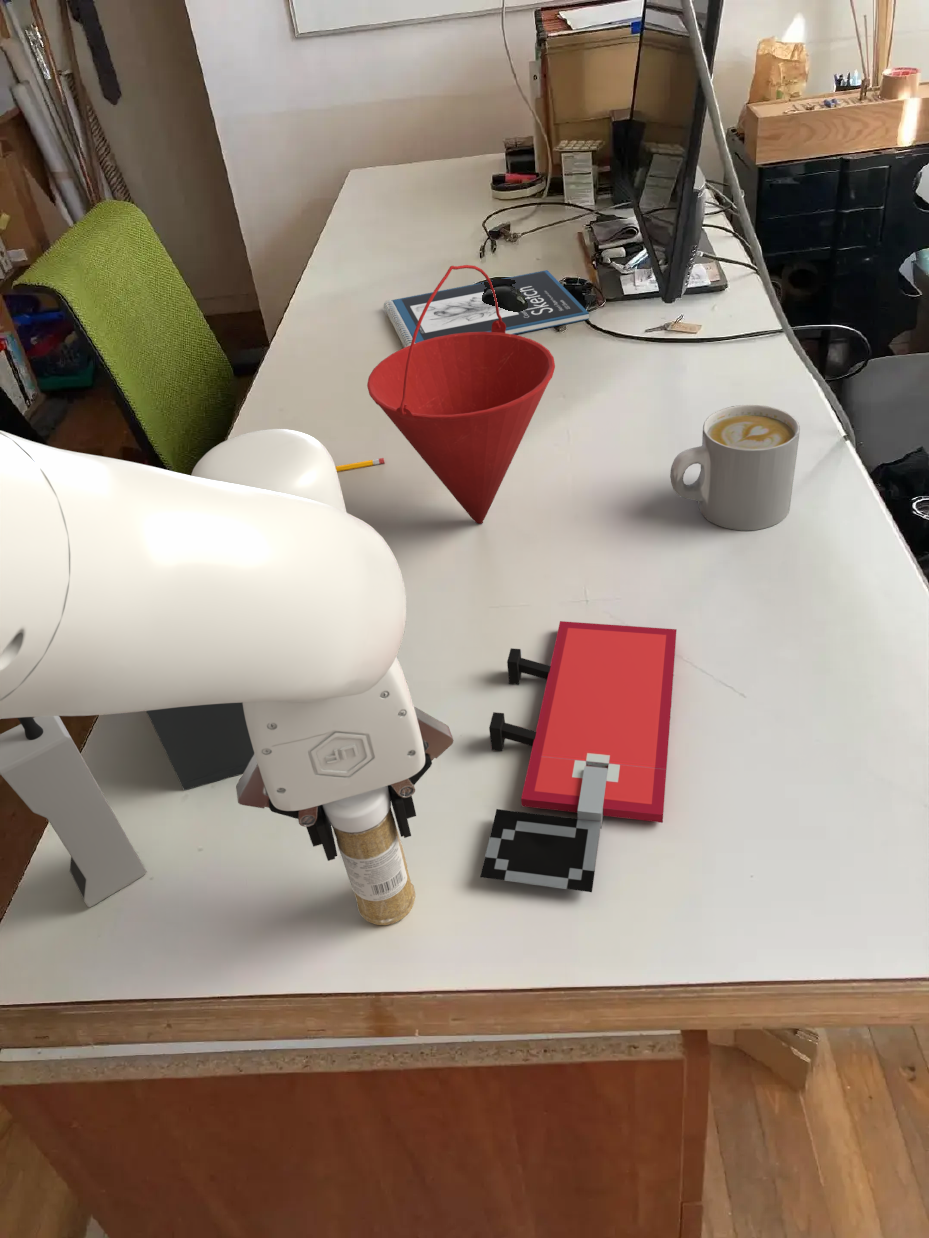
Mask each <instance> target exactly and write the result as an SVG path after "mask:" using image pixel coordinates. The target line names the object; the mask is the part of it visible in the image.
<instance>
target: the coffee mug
mask: <svg viewBox="0 0 929 1238" xmlns="http://www.w3.org/2000/svg"><path fill="white" fill-rule="evenodd" d="M800 433H801V426H800V424H799V422H798V419H796V418H795V416H793V415H792V414H791V413H789V412H787V411H785V410H782V409H780V408H777V407H774V406H770V405H769V406H768V405H764V404H763V405H762V404H739V405H732V406H729V407H728V406H727V407H723V408H722V409H719V410H716V411H714V412H713V413H712V414H710V415H709V416H708V417H707V418H706V419H705V420H704V422H703V426H702V435H701V436H702V437H701V439H702V441H701V445H699V446H695V447H690V448H688V449H684V450H683V451H680V452H679V453H678V454H677V455H676V456H675V457H674V459H673V461H672V464H671V466H670V471H669V472H670V473H669V474H670V475H669V479H670V484H671V486H672V489H673V491H674V492H675V493H676V495H677V496H679V497H681V498H683V499H687V500H692V501H697V502H698V509H699V511H700V513H701V515H702V516H703V517H704V518H705V519H706V520H708V521H709V522H711V523H712V524H714V525H716V526H719V527H722V528H725V529H729V530H733V531H734V530H736V531H758V530H764V529H768V528H771V527H773V526H775V525H776V526H777V524H779V523H781V522H783V520H785V518H787V516H788V515H789V512H790V509H791V502H792V494H793V486H794V480H795V479H794V478H795V472H796V466H797V465H796V463H797V456H798V449H799V442H800V441H799V440H800ZM695 464H698V465H700V472H699V474H698V477H697V478H696V480H695V481H693V482H692V483H690V484H687V483H685V482H684V475H685V474H686V470H687V469H688V468H689V467H691V466H692V465H695Z"/></svg>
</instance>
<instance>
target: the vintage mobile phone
mask: <svg viewBox="0 0 929 1238" xmlns="http://www.w3.org/2000/svg"><path fill="white" fill-rule="evenodd" d="M17 720H18V721H19V724H18V725H17V726H14V727H12V728H11V729H8V730H6V731H4V732H2V733H0V776H1V777H2V778H3V779H4V781H5V782H7V784H8V785H9V786H10V787H11V789H12V790H13V791H14V793H16V795H18V797H19V798H20V799H21V800H22V801H23V802H24V804H25V805H26V806H27V807H28V809H30V811H31V812H32V813H33V814H36V815H38V816H41V817H43V818H46V820H47V821H48V822H49V824H50V826H51V827H52V829H53V831H54V832H55V833H56V835H57V836H58V839H60V841H61V843H62V845H63V846H64V847H65V849H66V851H67V852H68V854H69V855H70V860H69V861H70V862H69V874H70V875H71V877H72V880H73V881H74V884H75V886H76V888H77V890H78V892H79V895H80V896H81V898H82V900H83V902H84V903H85V905H86V907H87V908H91V907H94V906H96V905H97V904H99V903H100V902H102V901H104V900H106V899H107V898H109V897H111V896H112V895H114V894H116V893H117V892H119V891H121V890H122V889H124V888H126V887H127V886H129V885H130V884H133V883H134V882H135V881H137V880H139V879H140V878H142V877H144V876H145V875H146V874H147V873H148V872H147V870H146V868H145V866H144V864H143V862H142V861H141V859H140V857H139V856H138V853H137V852H136V850H135V848H134V847H133V845H132V843H131V841H130V839H129V837H128V836H127V833H126V832H125V831H124V829H123V827H122V825H121V824H120V821H119V820H118V818H117V816H116V814H115V813H114V811H113V809H112V807H111V806H110V804H109V803H108V800H107V798H106V796H105V795H104V793H103V791H102V790H101V788H100V786H99V785H98V782H97V781H96V779H95V778H94V776H93V774H92V772H91V770H90V768H89V767H88V765H87V763H86V761H85V759H84V758H83V756H82V754H81V752H80V751H79V749H78V747H77V745H76V744H75V741H74V740H73V738H72V736H71V735H70V733H69V731H68V730H67V728H66V725H65V724H64V722H63V720H62V719H61V716H37V717H19V718H17Z"/></svg>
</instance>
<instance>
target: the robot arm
mask: <svg viewBox="0 0 929 1238" xmlns="http://www.w3.org/2000/svg"><path fill="white" fill-rule="evenodd" d="M335 466H336V465H335V461H334V459H333V456H332V455H331V453H330V452H329V451H328V449H327V448H326V446H325V445H323V443H322V442H320V441H319V440H318V439H317V438H315V437H313V436H312V435H309V434H307V433H304V432H301V431H298V430H293V429H287V428H269V429H260V430H254V431H249V432H245V433H242V434H238V435H236V436H234V437H231V438H229V439H226V440H224V441H222V442H220V443H219V444H217V445H216V446H214V447H212V448H211V449H210V450H208V451H207V452H206V453H205V454H204V455H203V456H202V457H201V458H200V459H199V460H198V461H197V463H196V464H195V466H194V467H193V469H192V472H191V475H190V474H185V473H182V472H176V471H173V470H168V469H164V468H161V467H156V466H153V465H148V464H143V463H139V462H134V461H129V460H124V459H118V458H114V457H108V456H102V455H96V454H90V453H83V452H79V451H78V452H77V451H72V450H67V449H62V448H57V447H54V446H50V445H47V444H43V443H40V442H36V441H34V440H33V441H32V440H30V439H26V438H23V437H20V436H18V435H15V434H12V433H10V432H6V431H4V430H0V720H1V719H3V720H4V719H18V718H19V717H33V718H34V717H37V716H59V717H86V716H103V715H104V716H105V715H116V714H126V713H127V714H129V713H138V712H147V711H148V710H158V709H167V708H176V707H186V706H197V705H208V704H223V703H243V710H244V715H245V720H246V724H247V728H248V732H249V736H250V739H251V743H252V746H253V750H254V755H253V757H252V758H251V760H250V762H249V764H248V766H247V767H246V769H245V771H244V773H243V774H241V776H240V778H239V779H238V782H237V784H236V786H235V789H236V797H237V803H238V804H239V805H242V806H246V807H253V808H259V809H265V808H269V810H270V811H271V812H272V813H274V814H279V815H282V816H286V817H289V818H293V819H297V821H298V824H299V825H300V826H301V827H304V828H306V830H307V833H308V836H309V839H310V842H311V844H312V847H318V846H321V845H322V848H323V851H324V854H325V857H326V860H327V862H330V861H333V860H335V859H336V858H337V857H338V852H337V847H336V841H335V838H334V837H335V836H334V831H333V828H332V826H331V824H330V823H329V822H328V820H327V818H326V815H325V812H324V809H323V806H322V805H323V804H326V803H330V802H333V801H337V800H340V799H344V798H347V797H351V796H354V795H358V794H361V793H364V792H368V791H371V790H374V789H378V788H381V787H384V786H387V785H388V788H389V793H390V797H391V807H392V810H393V815H394V818H395V820H396V821H395V822H396V825H397V829H398V832H399V834H400V835H399V836H400V837H401V838H404V839H406V838H409V837H412V833H411V829H410V824H409V820H408V819H411V818H415V817H417V812H416V807H415V804H414V799H413V795H414V794H415V792H416V787H415V785H416V784H417V783H418V781H420V779H421V778H422V777H423V776H424V775H425V774H426V773H427V771H429V769H430V768H431V766H432V765H433V762H432V761H433V760H435V759H438V758H439V757H440V756H441V755H442V754H444V753H445V751H447V750H448V749H449V748H450V747H451V746H452V745H453V744H454V742H455V741H454V738H453V735H452V732H451V730H450V727H449V725H448V724H446V723H444V722H442V721H441V720H439V719H437V718H435V717H434V716H432V715H430V714H428V713H427V712H425V711H423V710H421V709H419V708H418V707H417V706H415V705H414V702H413V699H412V696H411V692H410V689H409V685H408V682H407V679H406V676H405V673H404V671H403V668H402V666H401V663H400V660H399V659H398V657H397V656H398V654H399V651H400V649H401V645H402V643H403V639H404V635H405V630H406V623H407V593H406V588H405V587H406V586H405V582H404V577H403V575H402V571H401V568H400V565H399V563H398V560H397V559H396V557H395V554H394V553H393V550H392V549H391V547H390V546H389V544H388V543H387V541H386V540H385V539H384V537H383V536H382V535H381V534H380V533H379V532H378V531H377V530H376V529H375V528H374V527H373V526H371V525H370V524H369V523H367V522H366V521H364V520H362V519H361V518H358V517H357V516H354V515H352V514H350V513H349V512H347V509H346V508H347V507H346V504H345V500H344V496H343V495H344V494H343V492H342V487H341V482H340V479H339V475H338V472H337V471H336V468H335Z"/></svg>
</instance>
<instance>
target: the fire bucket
mask: <svg viewBox="0 0 929 1238" xmlns="http://www.w3.org/2000/svg"><path fill="white" fill-rule="evenodd" d="M464 269H470V270H475V271H478V272H479V273H481V275H483V277H484V278H485V279H486V282H488V283H489V285H490V288H491V291H492V293H493V297H494V301H495V307H496V314H497V317H498V318H499V320H497V321H494V322H493V324H492V330H491V332H467V333H458V334H450V335H445V336H440V337H435V338H431V339H428V340H424V341H421V342H418V343H415V339H416V336H417V333H418V330H419V327H420V325H421V322H422V319H423V317H424V315H425V313H426V311H427V309H428V307H429V305H430V303H431V301H432V300H433V298H434V296H435V295H436V293H437V291H440V288H441V287H442V286H443V284H444V283H445V281H446V280H447V279H448V277H449V276H450V274H451V272H452V271H453V270H454V271H455V270H464ZM491 281H492V280H491V278H490V277H489V275H488V274H487V273H486V272H485V271H484V270H483V269H482V268H480V267H478V266H476V265H473V264H472V265H471V264H464V265H451V266H449V267H448V269H447V271H446V273H445V274H444V275H443V277H442V278H441V280H440V281H439V282H438V284H437V286H436V287H435V289H434V290H433V291H432V292H433V293H432V295H431V297H430V298H429V300H428V302H427V303H426V306H425V308H424V310H423V312H422V314H421V316H420V318H419V321H418V324H417V326H416V329H415V332H414V335H413V338H412V342H411V345H410V346H407V345H406V346H407V347H405V348H404V347H402V348H401V349H399V350H397V351H395V352H393V353H391V354H390V355H388V356H387V357H385V358H384V359H382V360H381V361H379V363H377V365H376V366H375V367H373V369H372V371H371V373H370V374H369V376H368V379H367V385H366V386H367V390H368V391H367V392H368V394H369V397H370V398H371V399H372V400H373V402H374V403H375V404H376V405H377V406H379V407H380V409H381V410H382V411H383V412H384V413H385V415H386V416H387V417H388V419H389V420H390V421H391V422H392V424H394V425H395V427H396V428H397V429H398V431H399V432H400V433H401V434H402V435H403V437H404V438H405V439H406V440H407V442H408V443H409V444H410V445H411V447H412V448H413V449H414V450H415V452H416V453H417V454H418V456H420V457H421V458H422V460H423V461H424V463H426V465H427V466H428V467H429V468H430V470H431V471H432V472H433V473H434V474H435V476H436V477H437V478H438V479H439V480H440V482H441V483H442V485H444V487H445V488H446V489H447V490H448V491H449V492H450V494H451V495H452V497H453V498H454V499H455V500H456V501H457V502H458V503H459V505H460V506H461V507H462V508H463V510H464V511H465V513H467V515H468V516H469V517H470V518H471V519H472V521H474V522H475V524H479V525H480V524H481V525H482V524H484V520H485V519H486V517H487V515H488V513H489V510H490V508H491V506H492V504H493V502H494V500H495V497H496V495H497V493H498V491H499V489H500V487H501V485H502V483H503V480H504V478H505V476H506V474H507V472H508V470H509V468H510V466H511V463H512V462H513V459H514V457H515V454H516V453H517V451H518V448H519V446H520V444H521V442H522V441H523V438H524V435H525V433H526V432H527V429H528V427H529V425H530V424H531V421H532V419H533V417H534V415H535V412H536V411H537V409H538V406H539V404H540V401H541V400H542V398H543V396H544V393H545V391H546V389H547V387H548V385H549V383H550V381H551V380H552V379H553V376H554V372H555V369H556V364H555V358H554V356H553V354H552V353H551V351H550V350H549V348H547V347H545V346H544V345H543V344H542V343H539V342H538V341H536V340H533V339H531V338H528V337H526V336H523V335H522V336H521V335H519V334H514V335H513V334H507V333H505V332H506V325H505V323H504V322H502V318H501V316H500V314H499V308H498V302H497V298H496V294H495V290H494V288H493V285H492V282H491ZM500 327H501V328H500ZM414 343H415V344H414Z"/></svg>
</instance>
